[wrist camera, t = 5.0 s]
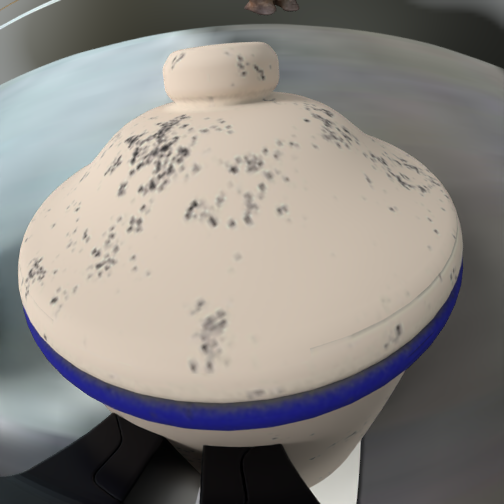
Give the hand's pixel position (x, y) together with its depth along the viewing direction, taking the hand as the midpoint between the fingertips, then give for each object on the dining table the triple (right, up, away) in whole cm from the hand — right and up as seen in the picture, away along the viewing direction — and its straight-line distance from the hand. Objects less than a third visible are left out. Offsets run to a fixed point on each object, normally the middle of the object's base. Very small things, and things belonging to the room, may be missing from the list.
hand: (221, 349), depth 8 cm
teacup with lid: (0, -3, +5) cm, 6 cm away
